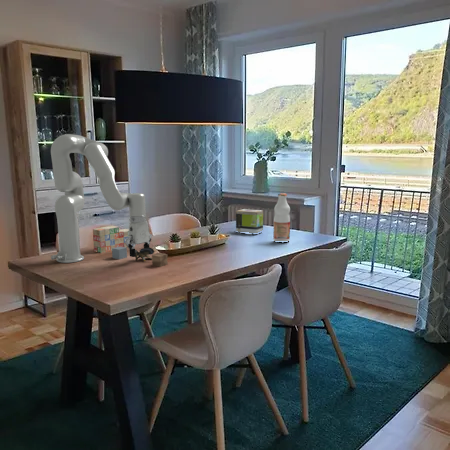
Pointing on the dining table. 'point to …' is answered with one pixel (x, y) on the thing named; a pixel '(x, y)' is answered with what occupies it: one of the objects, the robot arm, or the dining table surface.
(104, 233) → the stack of blocks
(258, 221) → the tea box
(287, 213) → the fruit juice
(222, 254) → the dining table surface
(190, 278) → the dining table surface
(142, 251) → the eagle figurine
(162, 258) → the walnut block
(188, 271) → the dining table surface
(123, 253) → the slate grey block
